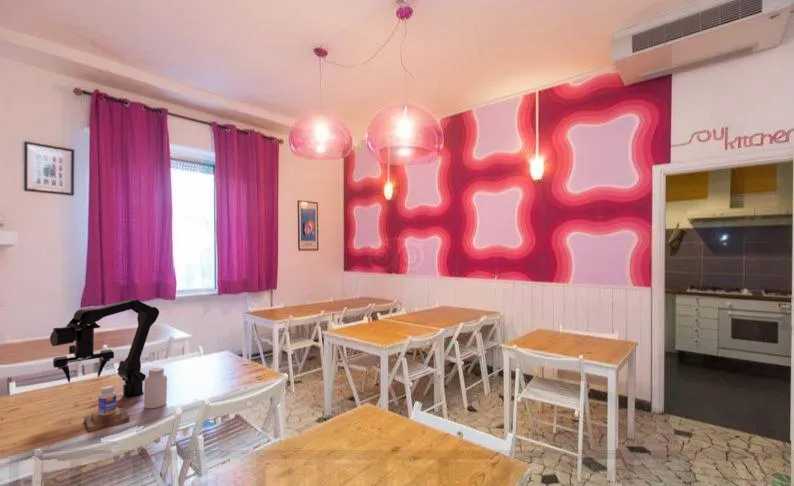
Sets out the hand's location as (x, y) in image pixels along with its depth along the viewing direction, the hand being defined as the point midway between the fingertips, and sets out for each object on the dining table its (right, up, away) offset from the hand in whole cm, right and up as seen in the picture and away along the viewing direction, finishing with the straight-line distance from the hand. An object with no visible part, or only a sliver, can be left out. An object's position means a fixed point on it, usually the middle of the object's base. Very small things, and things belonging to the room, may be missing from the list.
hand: (84, 379), depth 155 cm
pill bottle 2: (+25, -13, +6) cm, 29 cm away
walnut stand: (+16, -13, -9) cm, 23 cm away
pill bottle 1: (+16, -10, -9) cm, 21 cm away
